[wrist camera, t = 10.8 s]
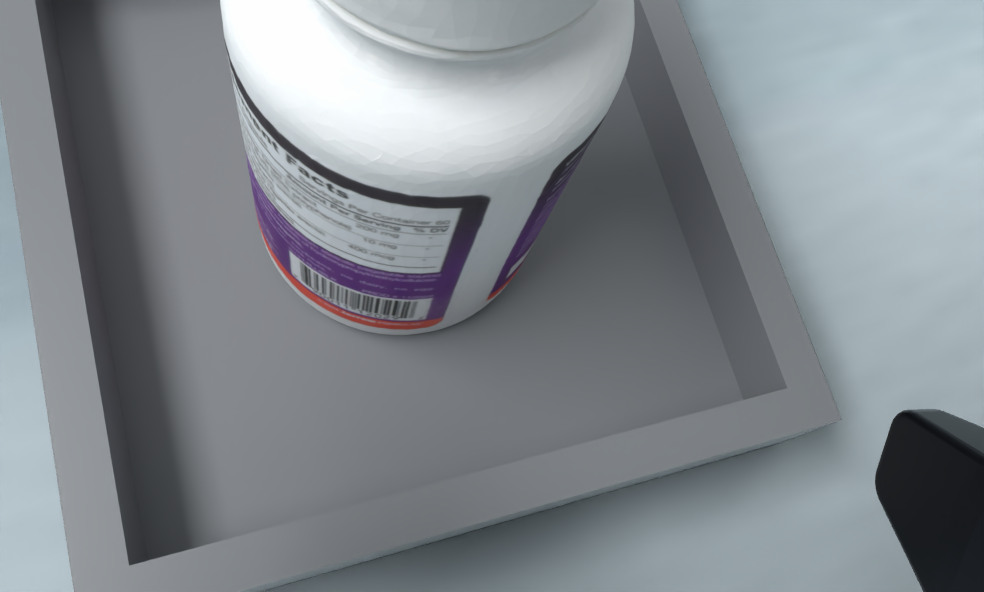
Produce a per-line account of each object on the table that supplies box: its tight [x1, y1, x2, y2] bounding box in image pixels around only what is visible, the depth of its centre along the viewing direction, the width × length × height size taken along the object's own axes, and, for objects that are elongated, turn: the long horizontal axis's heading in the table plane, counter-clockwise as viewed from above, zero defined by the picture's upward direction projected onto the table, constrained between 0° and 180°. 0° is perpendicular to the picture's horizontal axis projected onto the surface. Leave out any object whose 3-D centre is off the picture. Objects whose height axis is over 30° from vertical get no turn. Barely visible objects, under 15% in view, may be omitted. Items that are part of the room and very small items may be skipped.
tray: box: [0, 0, 842, 592], centre depth 18 cm, size 13×13×2 cm
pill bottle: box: [220, 0, 635, 335], centre depth 14 cm, size 5×5×10 cm
